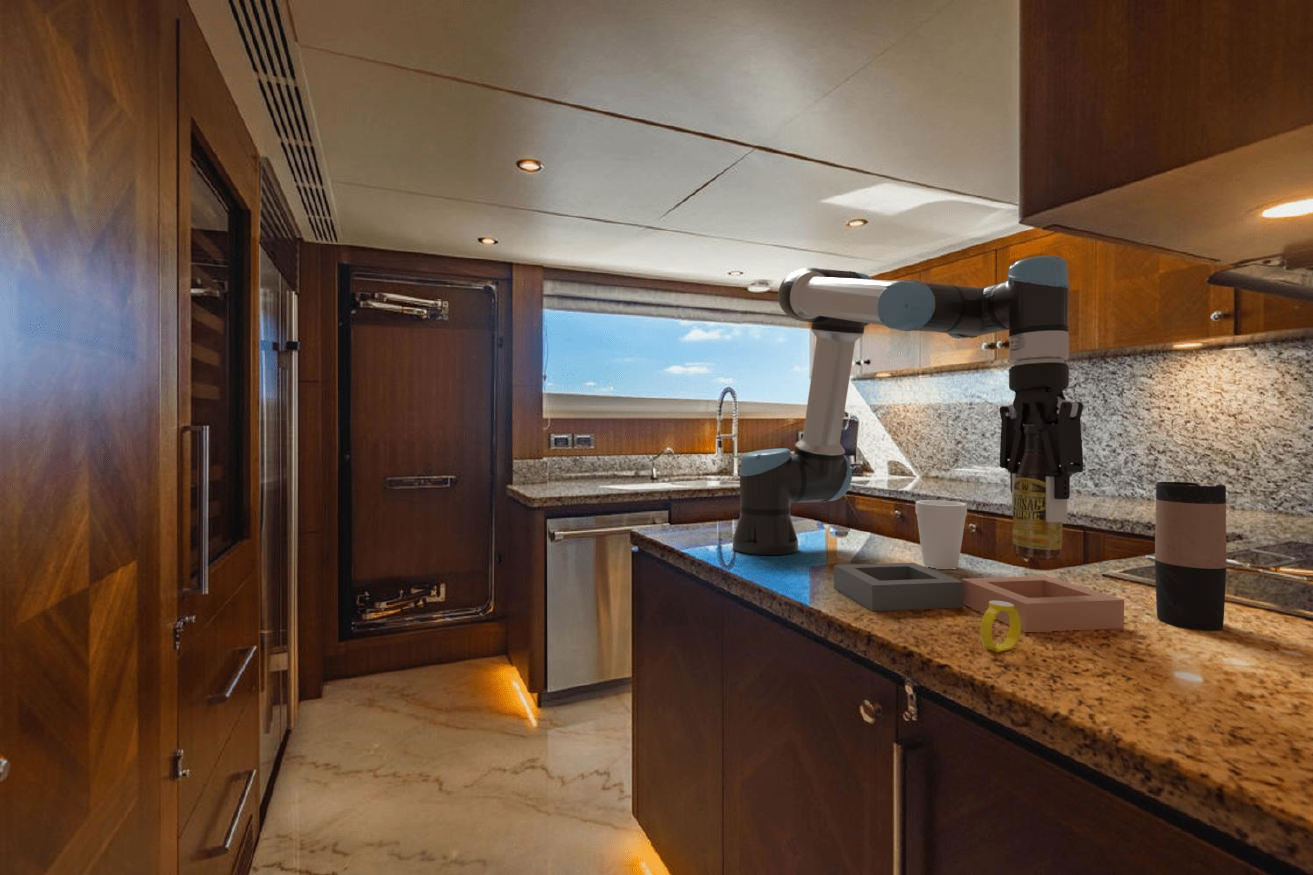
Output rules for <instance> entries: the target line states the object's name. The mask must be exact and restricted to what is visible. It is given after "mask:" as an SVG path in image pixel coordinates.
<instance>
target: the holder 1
mask: <svg viewBox="0 0 1313 875" xmlns="http://www.w3.org/2000/svg"><path fill="white" fill-rule="evenodd" d="M833 588H834V589H836V591H838V592H840V593H842V594H843V595H845V596H846V597H849V598H850V599H851V600H853V601H855V602H856V603H858V604H860V605H861V606H863V607H865V608H867V609H868V610H869V611H871V612H887V611H890V612H891V611H892V612H893V611H909V610H912V611H913V610H916V611H917V610H934V609H935V610H937V609H939V610H940V609H959V608H960V609H961V608H964V605H963V582H962V581H961V580H959V579H956V578H954V577H951V576H949V575H946V574H943V573H942V572H938V571H936V570H935V569H932V568H928V567H925V566H924V565H922V564H918V563H916V562H893V563H892V562H891V563H889V562H887V563H859V564H857V563H856V564H852V563H851V564H833Z"/></svg>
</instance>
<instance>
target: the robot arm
mask: <svg viewBox="0 0 1313 875" xmlns="http://www.w3.org/2000/svg"><path fill="white" fill-rule="evenodd" d="M1068 268H1069V267H1068V262H1067V261H1066V260H1065V259H1064V258H1063V257H1061V256H1057V255H1056V256H1055V255H1040V256H1033V257H1028V258H1024V259H1020V260H1017V261H1015V262H1014V263H1012V264H1011V265H1010V267H1009V269H1008V275H1007V280H1006V281H1003V282H1001V283H997V284H993V285H988V286H985V287H974V286H973V287H972V286H963V285H962V286H961V285H952V284H942V283H932V282H925V281H923V282H922V281H919V280H911V279H910V280H908V279H907V280H906V279H905V280H885V279H873V278H872V277H871V276H870V275H868V274H865V273H862V272H856V271H853V270H852V271H851V270H837V269H827V268H816V267H804V268H802V267H801V268H798V269H796V270H794V271H792V272H790V273H788V274H787V275H786V276H785V277H784V279H782V281H781V283H780V285H779V289H778V291H777V293H778V294H777V297H778V298H777V299H778V304H779V306H780V308H781V310H782V311H783V312H784V313H785V315H786V316H788V317H789V318H792V319H793V320H796V321H800V322H806V323H807V322H808V323H811V327H810V331H811V332H812V333H813V335H814V336H815V338H816V339H815V340H816V341H815V347H814V356H813V363H812V370H811V376H810V384H809V388H808V390H809V391H808V398H807V403H806V404H807V405H806V411H805V419H804V426H803V434H802V438H801V439H800V440H798V441H796V442H795V444H794V451H793V453H792V452H791V449H789V448H783V447H782V448H771V449H770V448H769V449H768V448H767V449H760V450H754V451H750V452H747V453H745V454H743V455H742V456H741V459H740V466H739V473H738V474H739V492H740V493H739V506H740V507H739V519H738V522H737V525H736V528H735V530H734V534H733V537H732V549H733V550H735V551H737V552H739V553H743V554H750V555H760V556H761V555H762V556H778V555H779V556H780V555H791V554H793V553H794V554H795V553H796V552H798V551H799V540H798V537H797V533H796V530H795V527H794V523H793V520H792V517H791V504H798V503H801V504H802V503H826V502H832V501H837V500H839V499H840V498H843V496H844V495H846V493H847V492H848V490H849V488H850V486H851V483H852V481H853V480H852V479H853V469H852V467H851V461H850V460H849V458H848V457H847V456H846V455H845V453H846V450H845V448H844V447H843V445H842V444H841V436H842V430H843V423H844V419H845V418H844V417H845V416H844V415H845V410H846V404H847V403H846V402H847V396H848V391H849V385H850V378H851V372H852V365H853V359H854V351H855V344H856V342H857V341H858V340H859V339H860V338H861V337H862V336H864V332H865V328H866V327H867V326H870V324H871V325H876V326H877V325H879V326H884V327H886V328H889V329H892V330H893V329H894V330H898V331H905V332H912V331H914V332H928V333H929V332H931V333H935V332H936V333H943V334H944V333H945V334H947V335H949V336H950V337H951V338H953V339H957V340H958V339H967V338H968V339H974V338H977V337H980V336H985V335H990V334H994V333H999V332H1004V331H1008V337H1009V338H1008V339H1009V340H1008V342H1009V351H1008V352H1009V353H1008V354H1009V356H1008V357H1009V358H1008V360H1009V363H1010V364H1013V365H1012V366H1010V368H1009V369H1008V388H1009V390H1010V391H1012V392H1014V394H1015V395H1014V399H1013V403H1012V404H1010V405H1003V406H1000V408H999V410H998V412H999V415H1000V420H1001V424H1000V425H1001V426H1000V427H1001V428H1000V429H1001V430H1000V443H999V444H1000V445H999V446H1000V448H999V467H1000V468H1001V469H1005V470H1007V472H1008V473H1009V475H1010V477H1009V478H1010V479H1009V481H1010V484H1009V485H1010V488H1009V489H1010V493H1011V515H1012V516H1013V507H1014V480H1015V478H1016V476H1017V473H1018V470H1019V467H1020V464H1021V461H1022V459H1023V456H1024V453H1025V438H1026V436H1025V434H1024V428H1025V425H1036V428H1037V430H1038V431H1039V432H1040V433H1041V436H1042V440H1043V444H1044V448H1045V452H1046V456H1047V460H1048V464H1049V468H1050V472H1049V473H1046V475H1047V476H1046V522H1063V523H1068V500H1070V495H1071V494H1070V493H1071V492H1070V490H1071V487H1070V480H1071V479H1070V478H1071V477H1072V476H1073V475H1075V474H1077V473H1082V472H1083V471H1084V456H1083V455H1084V454H1083V439H1082V438H1083V437H1082V423H1081V417H1082V414H1083V410H1084V404H1083V402H1082V401H1071V400H1067V399H1066V397H1065V394H1064V390H1065V389H1067V388H1068V387H1069V385H1070V384H1069V382H1070V379H1069V378H1070V375H1069V374H1070V370H1069V369H1070V367H1069V366H1070V365H1068V363H1065V361H1067V360H1069V359H1070V341H1069V338H1070V337H1069V336H1070V335H1069V326H1068V325H1069V324H1068V323H1069V321H1068V320H1069V316H1068V315H1069V301H1070V300H1069V299H1070V297H1069V296H1070V288H1071V286H1070V283H1069V271H1068V270H1069V269H1068ZM1059 465H1060V467H1059Z"/></svg>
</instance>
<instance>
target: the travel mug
mask: <svg viewBox="0 0 1313 875" xmlns="http://www.w3.org/2000/svg"><path fill="white" fill-rule="evenodd" d="M1154 528H1155V533H1154V534H1155V535H1154V572H1155V574H1154V575H1155V601H1156V602H1155V603H1156V618H1157V619H1158V620H1159V621H1160V622H1163V623H1165V624H1168V625H1172V626H1175V627H1178V628H1184V629H1188V630H1189V629H1190V630H1195V631H1206V632H1207V631H1208V632H1209V631H1210V632H1211V631H1213V632H1214V631H1221V630H1223V628H1224V622H1225V621H1224V620H1225V606H1226V602H1225V600H1226V584H1227V583H1226V582H1227V581H1226V580H1227V487H1226V485H1225V484H1219V483H1218V484H1216V485H1212V486H1211V485H1200V484H1199V483H1197V482H1191V481H1190V482H1189V481H1158V482H1156V485H1155V527H1154Z"/></svg>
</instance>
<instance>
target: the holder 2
mask: <svg viewBox="0 0 1313 875" xmlns="http://www.w3.org/2000/svg"><path fill="white" fill-rule="evenodd" d="M960 581H962V582H963V604H964V605H963V606H965V605H966V606H965V607H967V606H968V607H967V608H969V607H970V608H969V609H971V610H974V611H976V612H978V611H980V612H983V613H985V612H986V611H987V609H988V608H989V601H1004V602H1009V603H1012V604H1013V605H1014V609H1016V611H1017V612H1018V615H1019V617H1020V620H1021V632H1022V631H1023V633H1025V632H1037V633H1053V632H1052V631H1058V632H1074V631H1073V630H1076V631H1077V630H1079V631H1093V630H1094V631H1095V630H1096V631H1097V630H1113V629H1114V630H1117V629H1125V599H1124V598H1119V597H1116V596H1113V595H1110V594H1107V593H1103V592H1100V591H1096V590H1093V589H1091V588H1087V587H1085V586H1081V585H1078V584H1075V583H1071V582H1068V581H1064V580H1061V579H1058V578H1055V577H1052V576H1048V575H1035V576H1032V575H1031V576H1030V575H1029V576H1027V575H1026V576H1006V577H1005V576H1001V577H997V576H996V577H977V578H975V577H973V578H972V577H971V578H961V579H960ZM980 612H979V613H980ZM983 613H982V614H983ZM995 618H996V619H998V620H1000V621H1002V622H1001V623H1003V622H1004V623H1003V624H1005V625H1007V624H1008V626H1009V625H1010V622H1009V615H1008V613H1007V612H1006V611H1000V612H999V614H998V615H997V616H996V617H995ZM996 619H995V620H996ZM998 620H997V621H998ZM1000 621H999V622H1000ZM1067 630H1068V631H1067ZM1076 631H1075V632H1076Z"/></svg>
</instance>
